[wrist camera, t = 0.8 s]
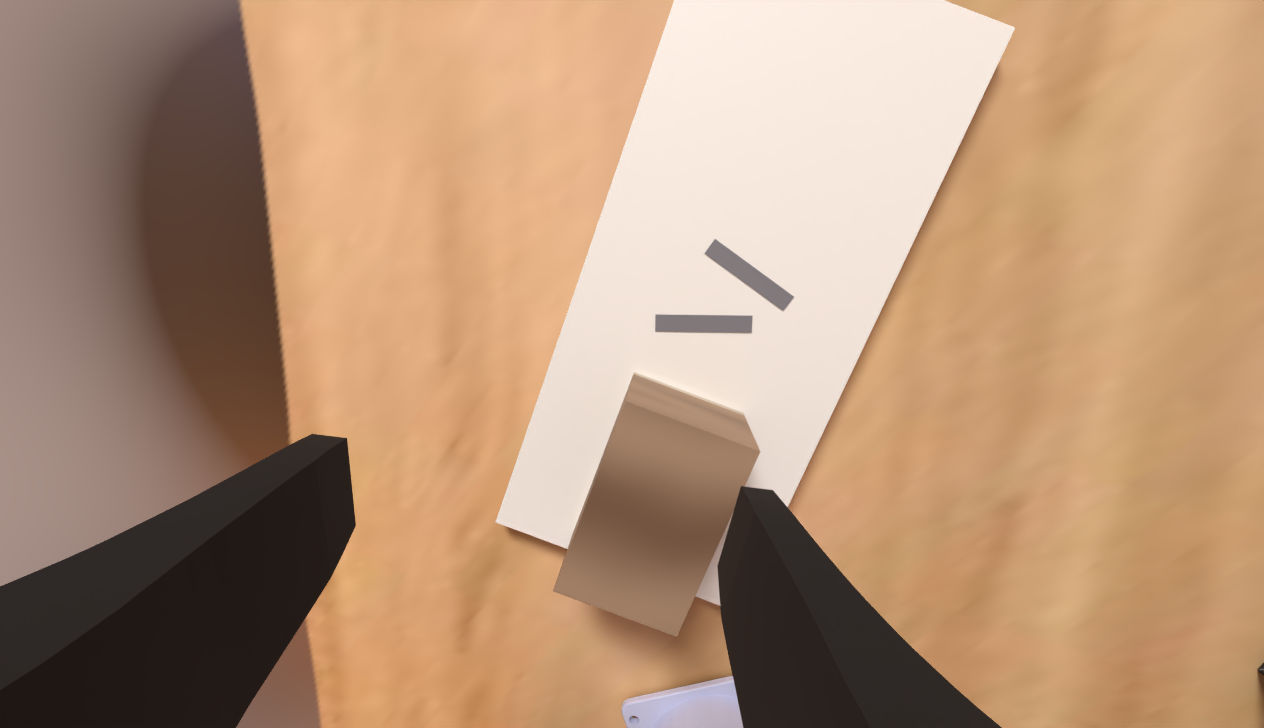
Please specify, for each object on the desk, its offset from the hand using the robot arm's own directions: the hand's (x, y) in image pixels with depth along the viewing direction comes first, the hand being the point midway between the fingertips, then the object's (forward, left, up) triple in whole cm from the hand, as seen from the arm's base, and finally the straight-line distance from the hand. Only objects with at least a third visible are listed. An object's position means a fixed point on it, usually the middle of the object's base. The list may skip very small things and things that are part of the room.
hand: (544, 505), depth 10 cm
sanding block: (-5, 0, -14) cm, 15 cm away
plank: (+1, -5, -15) cm, 16 cm away
